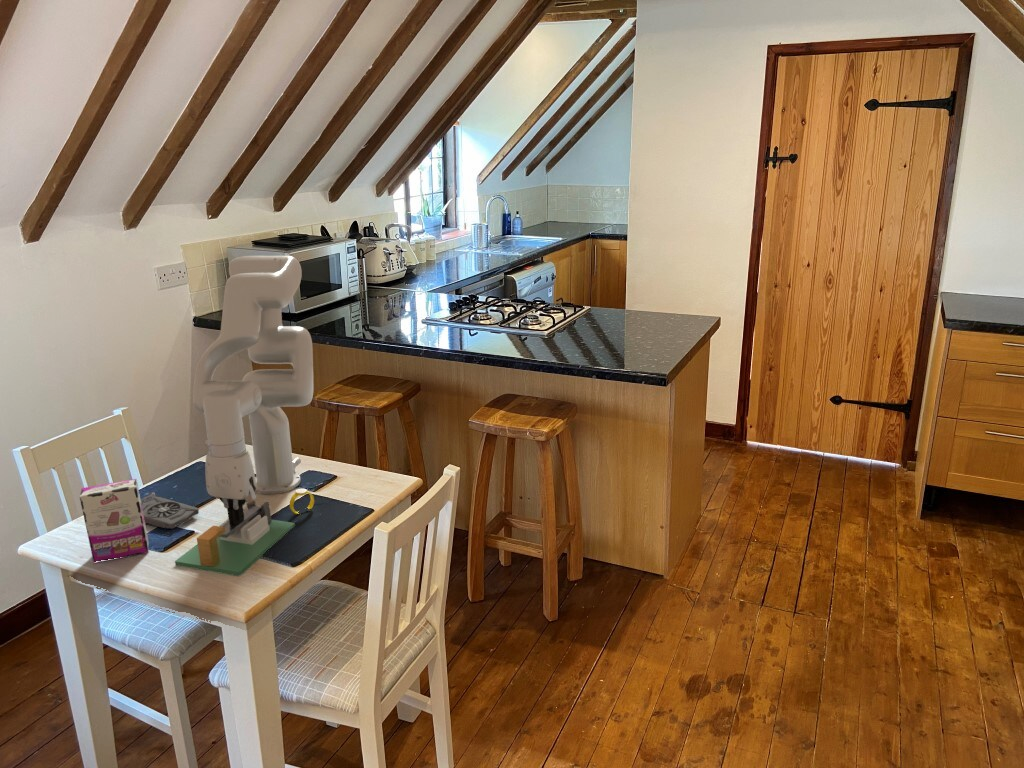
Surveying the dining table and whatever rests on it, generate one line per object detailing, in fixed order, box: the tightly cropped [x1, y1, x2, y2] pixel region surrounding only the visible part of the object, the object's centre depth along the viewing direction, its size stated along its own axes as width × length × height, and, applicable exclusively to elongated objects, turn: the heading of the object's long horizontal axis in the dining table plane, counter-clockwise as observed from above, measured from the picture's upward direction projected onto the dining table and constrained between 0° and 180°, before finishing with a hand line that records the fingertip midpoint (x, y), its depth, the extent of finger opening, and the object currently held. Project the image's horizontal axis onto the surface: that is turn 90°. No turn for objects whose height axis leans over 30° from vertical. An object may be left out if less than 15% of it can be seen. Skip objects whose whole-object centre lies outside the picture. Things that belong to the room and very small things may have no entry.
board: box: [174, 499, 296, 577], centre depth 175 cm, size 22×16×6 cm
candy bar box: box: [79, 478, 150, 563], centre depth 170 cm, size 11×5×16 cm, turn 114°
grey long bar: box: [219, 503, 262, 538], centre depth 176 cm, size 14×2×1 cm, turn 164°
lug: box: [196, 525, 226, 567], centre depth 167 cm, size 6×3×6 cm, turn 164°
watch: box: [289, 488, 315, 515], centre depth 190 cm, size 6×3×6 cm, turn 133°
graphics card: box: [140, 492, 200, 529], centre depth 187 cm, size 17×4×12 cm
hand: (236, 522), depth 175 cm, fingers closed
